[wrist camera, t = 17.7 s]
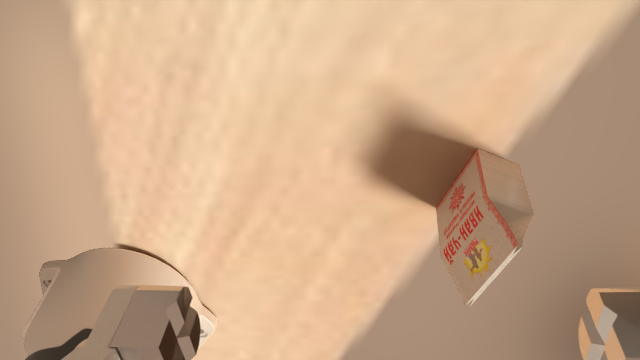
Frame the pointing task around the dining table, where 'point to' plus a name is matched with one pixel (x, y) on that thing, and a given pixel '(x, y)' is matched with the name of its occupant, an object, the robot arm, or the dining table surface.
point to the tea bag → (482, 222)
